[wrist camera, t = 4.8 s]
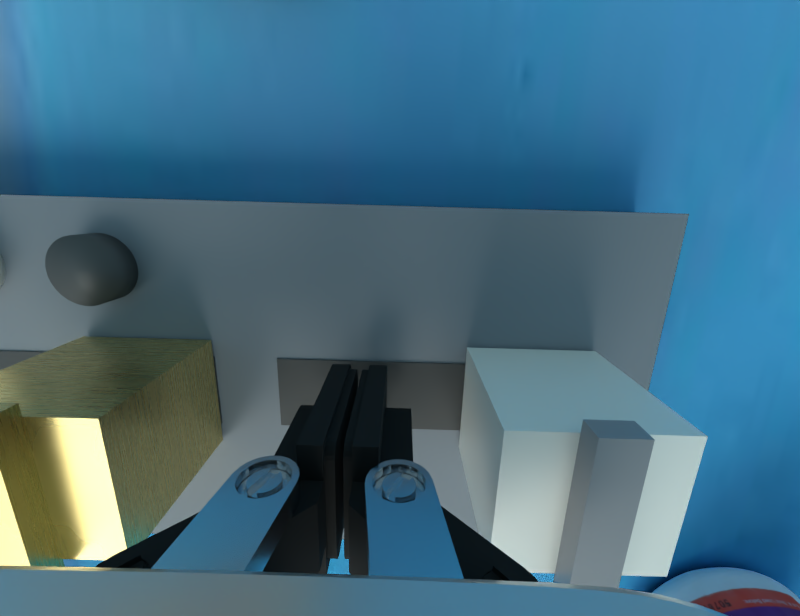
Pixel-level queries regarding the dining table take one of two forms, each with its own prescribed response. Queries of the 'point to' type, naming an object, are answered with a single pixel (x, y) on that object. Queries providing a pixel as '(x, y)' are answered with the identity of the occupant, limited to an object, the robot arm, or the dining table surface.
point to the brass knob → (100, 444)
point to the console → (334, 301)
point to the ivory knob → (574, 464)
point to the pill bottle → (732, 592)
